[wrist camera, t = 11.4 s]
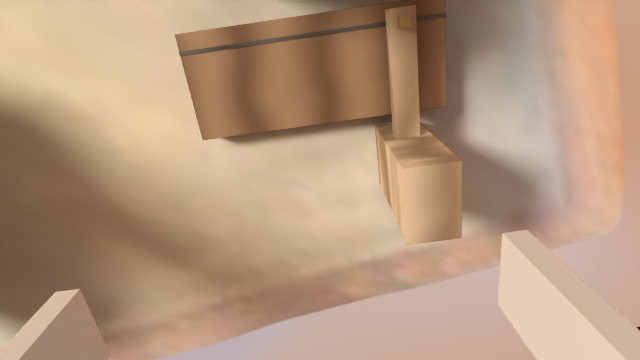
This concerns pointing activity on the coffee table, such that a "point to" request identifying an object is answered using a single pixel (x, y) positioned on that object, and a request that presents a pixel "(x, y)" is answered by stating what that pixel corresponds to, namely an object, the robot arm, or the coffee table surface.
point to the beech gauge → (415, 148)
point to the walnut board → (306, 69)
